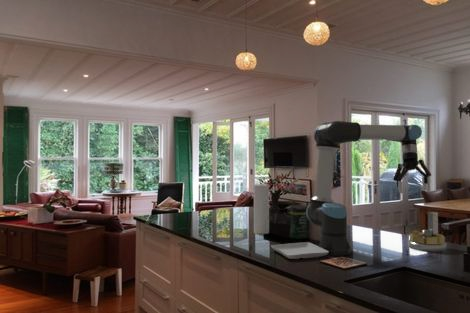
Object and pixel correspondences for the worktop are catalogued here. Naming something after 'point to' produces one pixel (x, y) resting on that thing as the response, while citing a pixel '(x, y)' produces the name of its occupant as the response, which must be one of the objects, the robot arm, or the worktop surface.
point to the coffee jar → (298, 222)
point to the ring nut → (432, 225)
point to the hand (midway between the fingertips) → (412, 191)
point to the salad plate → (300, 250)
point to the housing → (427, 246)
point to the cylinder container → (261, 209)
